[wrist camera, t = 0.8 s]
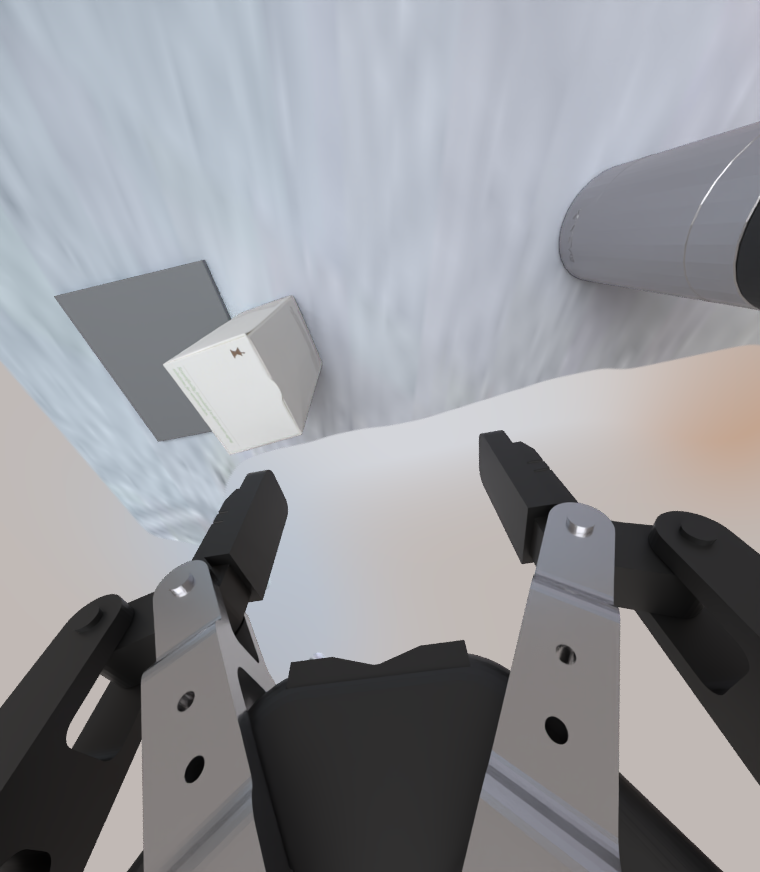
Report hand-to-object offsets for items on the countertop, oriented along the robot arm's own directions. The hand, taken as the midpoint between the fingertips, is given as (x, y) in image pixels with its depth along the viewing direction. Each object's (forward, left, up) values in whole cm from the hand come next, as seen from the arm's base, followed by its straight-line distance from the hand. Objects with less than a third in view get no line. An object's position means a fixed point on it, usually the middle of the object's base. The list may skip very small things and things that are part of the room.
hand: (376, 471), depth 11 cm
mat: (+23, 0, -26) cm, 35 cm away
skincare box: (+10, 0, -26) cm, 28 cm away
